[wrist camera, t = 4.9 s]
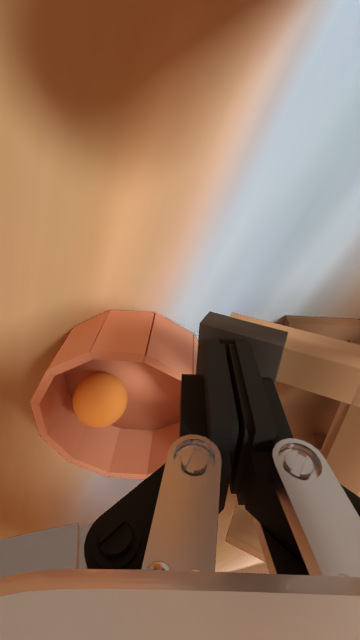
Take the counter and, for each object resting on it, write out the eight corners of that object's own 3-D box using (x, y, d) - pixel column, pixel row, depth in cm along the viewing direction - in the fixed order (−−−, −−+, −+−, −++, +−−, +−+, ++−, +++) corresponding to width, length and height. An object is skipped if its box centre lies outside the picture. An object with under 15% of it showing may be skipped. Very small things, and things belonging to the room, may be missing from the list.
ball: (137, 374, 23) (98, 408, 20) (139, 412, 25) (104, 448, 22) (97, 355, 25) (56, 384, 22) (101, 392, 27) (65, 423, 24)
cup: (217, 315, 23) (223, 358, 18) (204, 431, 29) (206, 482, 25) (47, 306, 23) (13, 346, 18) (71, 423, 29) (50, 473, 25)
